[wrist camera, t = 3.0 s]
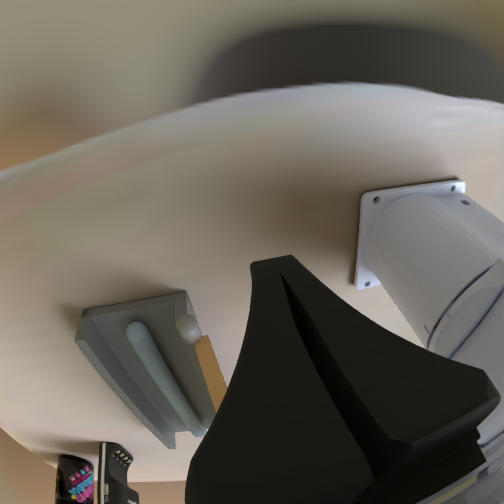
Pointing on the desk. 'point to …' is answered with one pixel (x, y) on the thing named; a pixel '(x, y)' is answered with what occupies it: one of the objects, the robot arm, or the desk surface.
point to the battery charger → (114, 476)
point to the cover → (211, 371)
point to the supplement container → (74, 481)
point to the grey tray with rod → (151, 362)
